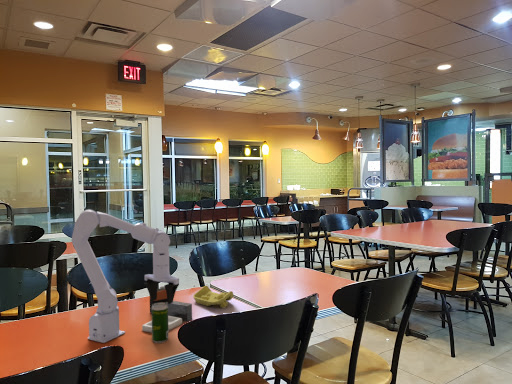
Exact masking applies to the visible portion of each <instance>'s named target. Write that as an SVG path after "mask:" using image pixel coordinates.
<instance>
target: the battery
mask: <svg viewBox="0 0 512 384" xmlns="http://www.w3.org/2000/svg"><path fill="white" fill-rule="evenodd" d="M148 295H149V313H151V314H152V310H151V308H152V305H153V304H155V303H159V302H164V303H166V302H167V293H166V289H165V287H164V286H163V285H162V286H160V287H159V288H157V300H155V301H151V298H150V294H148Z"/></svg>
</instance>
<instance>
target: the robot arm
mask: <svg viewBox="0 0 512 384" xmlns="http://www.w3.org/2000/svg"><path fill="white" fill-rule="evenodd" d="M98 225H99V228H103V227H111V228H115V229H117V230H120V231H123V232H127V233H128V234H130V235H131V237H132V238H133V239H135V240H137V241H140V242H143V243H146V244H148V245H151V244H152V245H153V246H152V248H153V251H152V268H153V269H152V274H150V273H148V274H144V281H146V282H144V286H145V287H146V290H147V291H148V293H149V294H150V296H149V299H150V298H151V301H155V300H157V289H158V286H159V282H160V283H165V284H164V287H165V289H166V293H167V303H168V304H171V303H173V301H174V298H175V295H176V293H177V289H178V287H179V286H180V278H179V277H175V276H172V275H171V274H170V251H169V249H170V247H169V246H170V244H171V239H170V236H169V234H167V233H166V232H165V231H163V230H161V229H159V228H157V227H156V228H154V227H151V226H149V225H148V224H147V223H145V222H138V223H134V224H133V223H130V222H128V221H126V220H123V219H121V218H118V217H116V216H113V215H111V214H109V213H105V212H101V211H95V210H93V209H90V208H89V209H85V210H83V211H82V212H81V213H80V215H78V218H77V219H76V220H75V222H74V227H73V230H72V235H71V241H70V242H71V244H72V246H73V248H74V250H75V252H76V254H77V256H78V259H79V261H80V263H81V264H82V267H83V269H84V270H85V273H86V275H87V277H88V279H89V281H90V283H91V286H92V287H93V290H94V293H95V295H96V298H97V299H96V300H97V308H96V311H95V313H94V314H93V315H91V316H90V318H89V319H88V336H87V339H88V340H91V341H94V342H98V343H103V344H105V343H107V342H109V341H111V340H113V339H115V338H118V337H120V336H121V335H124V334H126V330H125V331H124V330H120V306H118V305H119V304H118V303H119V302H118V301H119V300H118V298H117V297H118V295H117V292H116V290H115V289H114V288H112V287H111V285H110V283H109V282H108V280H107V278H106V276H105V274H104V272H103V270H102V268H101V265H100V264H99V261H98V259H97V257H96V255H95V253H94V251H93V248H92V247H91V244H90V243H89V241H88V240H89V238H90V235H91V233H92V232H93V231H94V230H95V229H96V227H97V226H98ZM149 294H148V295H149Z"/></svg>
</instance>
